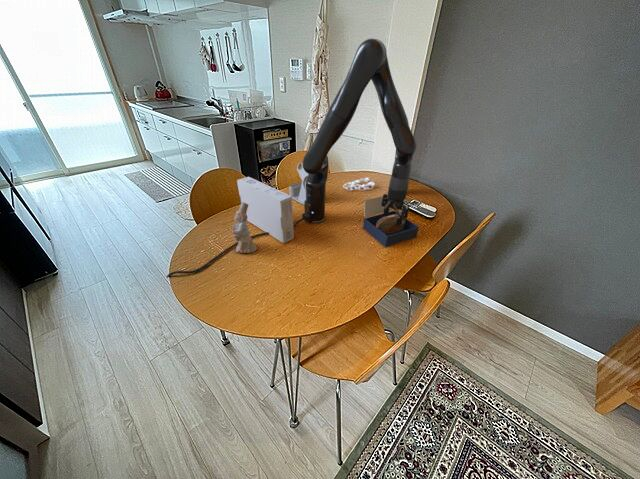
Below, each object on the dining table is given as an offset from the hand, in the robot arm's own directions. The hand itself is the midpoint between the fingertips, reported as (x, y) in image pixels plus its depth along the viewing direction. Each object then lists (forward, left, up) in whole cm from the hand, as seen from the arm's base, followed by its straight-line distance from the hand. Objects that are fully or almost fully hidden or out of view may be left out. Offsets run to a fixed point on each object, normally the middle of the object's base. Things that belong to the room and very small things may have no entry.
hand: (391, 220), depth 115 cm
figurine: (-62, +16, -7) cm, 64 cm away
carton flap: (0, +9, +4) cm, 10 cm away
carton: (0, 0, -6) cm, 6 cm away
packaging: (-49, +28, -7) cm, 57 cm away
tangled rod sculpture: (+17, +48, -7) cm, 52 cm away
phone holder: (-21, +49, -7) cm, 54 cm away
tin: (0, 0, -6) cm, 6 cm away
